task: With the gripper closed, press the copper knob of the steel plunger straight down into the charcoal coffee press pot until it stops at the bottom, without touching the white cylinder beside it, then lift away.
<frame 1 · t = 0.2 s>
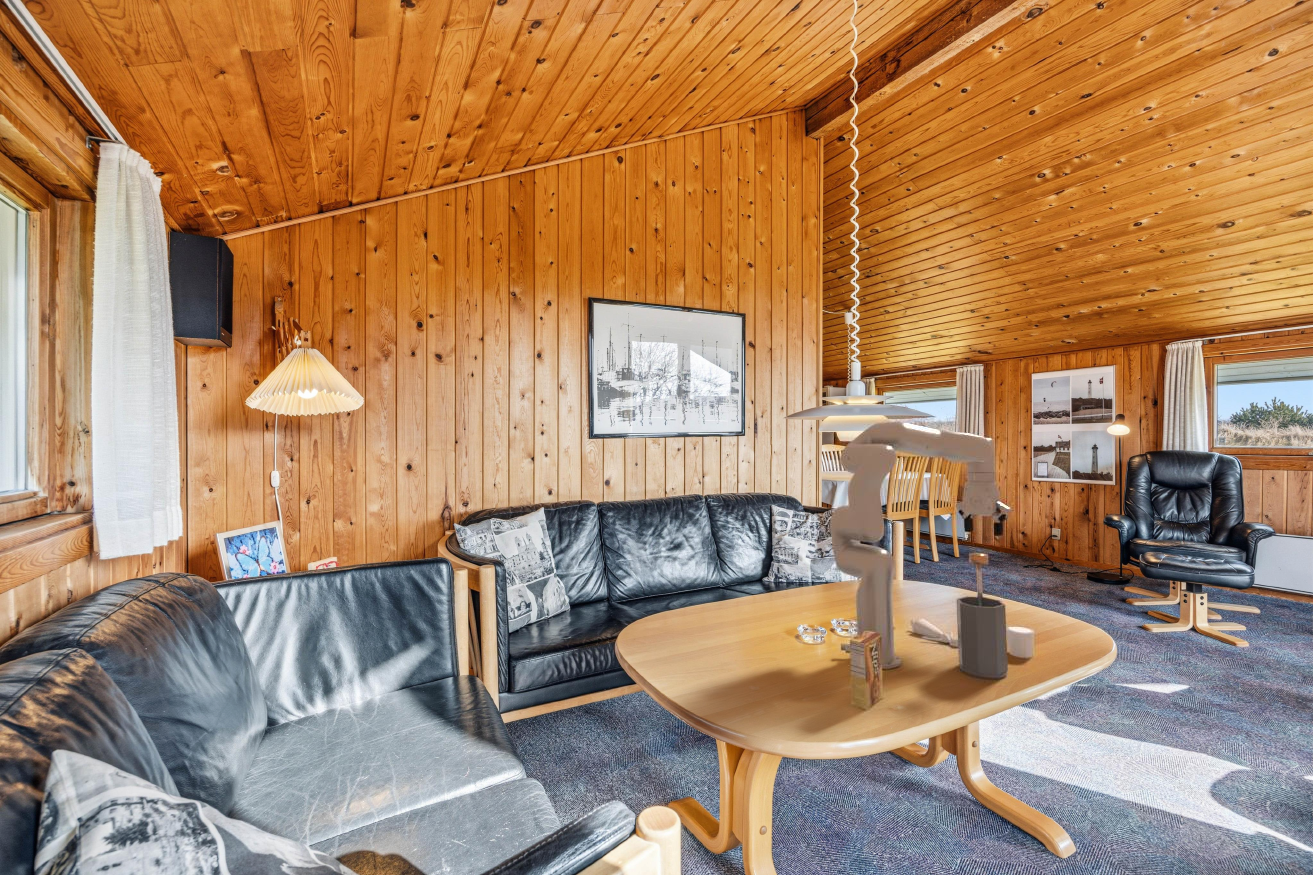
hand: (983, 533, 180), 31 cm above the table, tool pointing down, fingers open, 9 cm apart
press pot: (982, 670, 153), on the table
candy box: (867, 702, 137), on the table
white cylinder: (1021, 654, 164), on the table
plunger: (979, 586, 153), point 22 cm above the table, slide at 0.0 cm
woman figurine: (936, 639, 179), on the table
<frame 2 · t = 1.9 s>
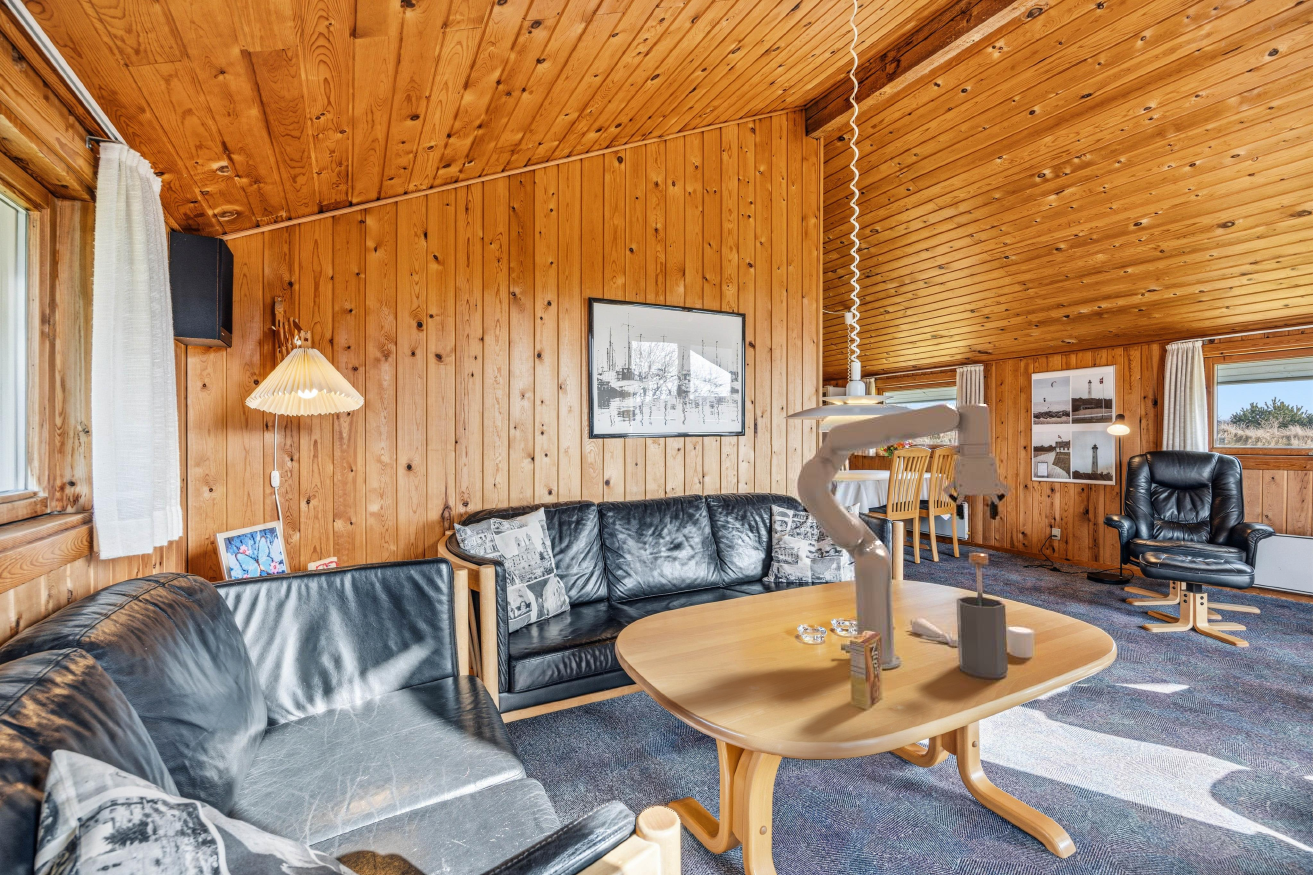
hand: (977, 518, 153), 40 cm above the table, tool pointing down, fingers open, 6 cm apart
nothing on the table moved.
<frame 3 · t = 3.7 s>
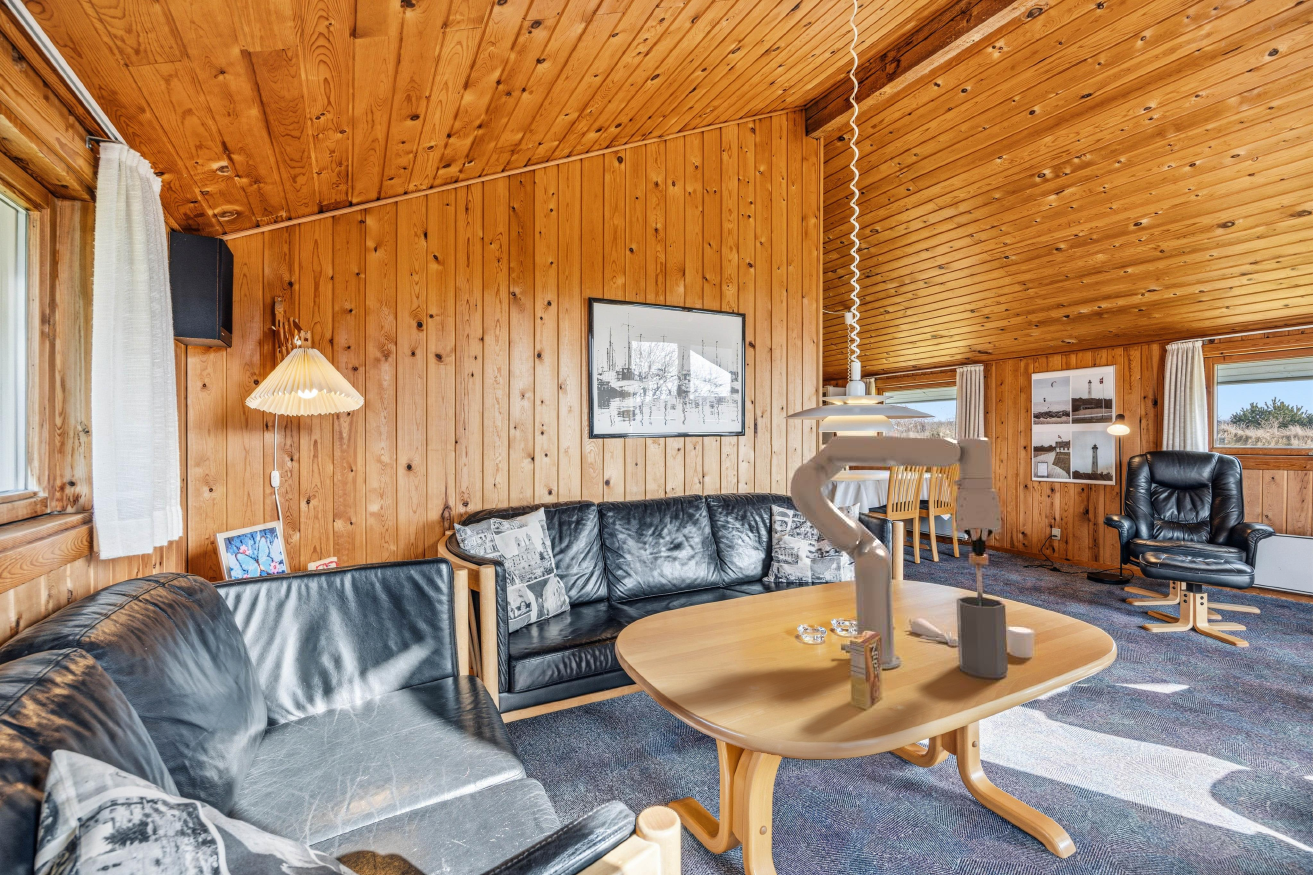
hand: (978, 554, 153), 30 cm above the table, tool pointing down, fingers closed
plunger: (979, 586, 153), point 22 cm above the table, slide at 0.1 cm, touching gripper
everything else where it was.
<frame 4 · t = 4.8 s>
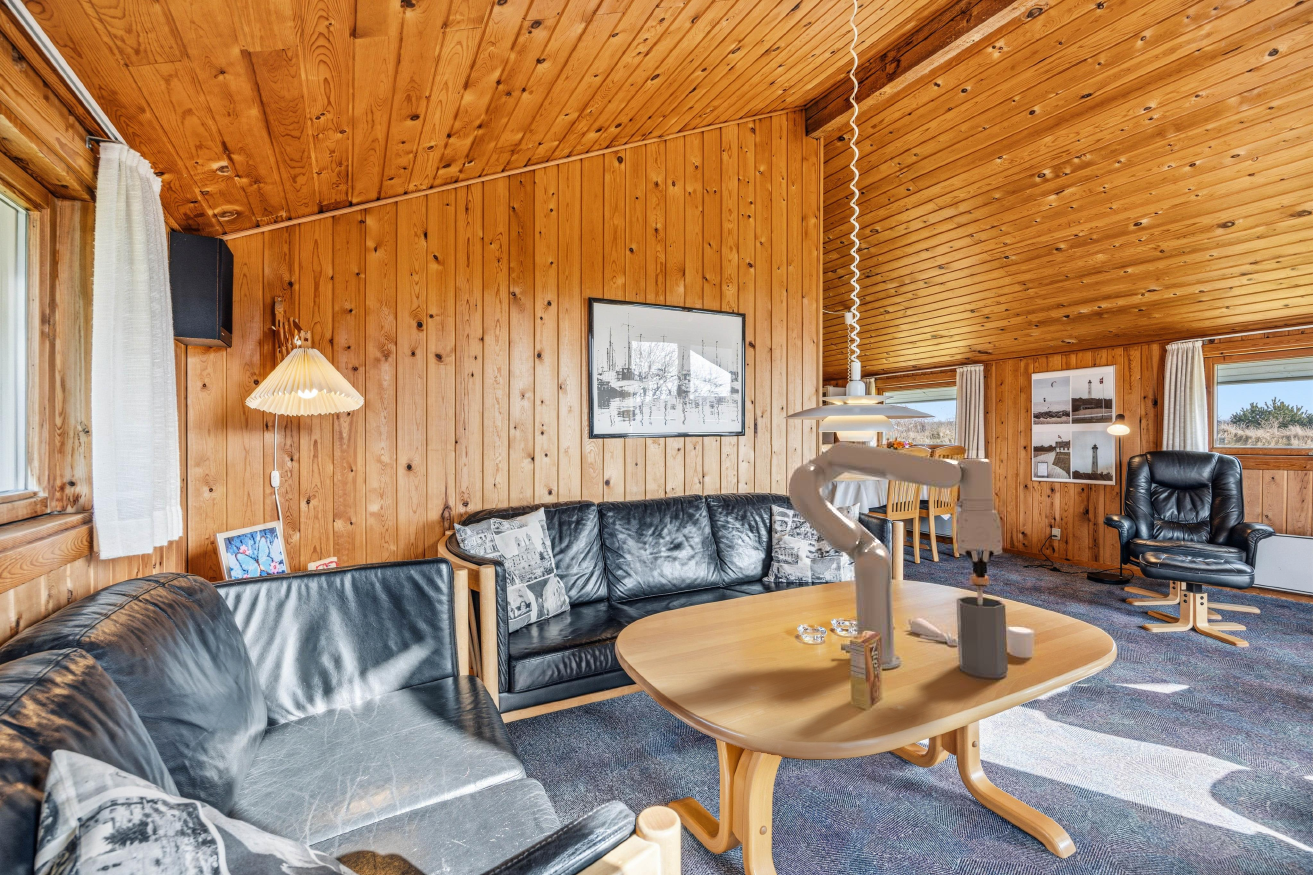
hand: (980, 575, 153), 25 cm above the table, tool pointing down, fingers closed
plunger: (980, 607, 153), point 16 cm above the table, slide at 5.7 cm, touching gripper
everything else where it was.
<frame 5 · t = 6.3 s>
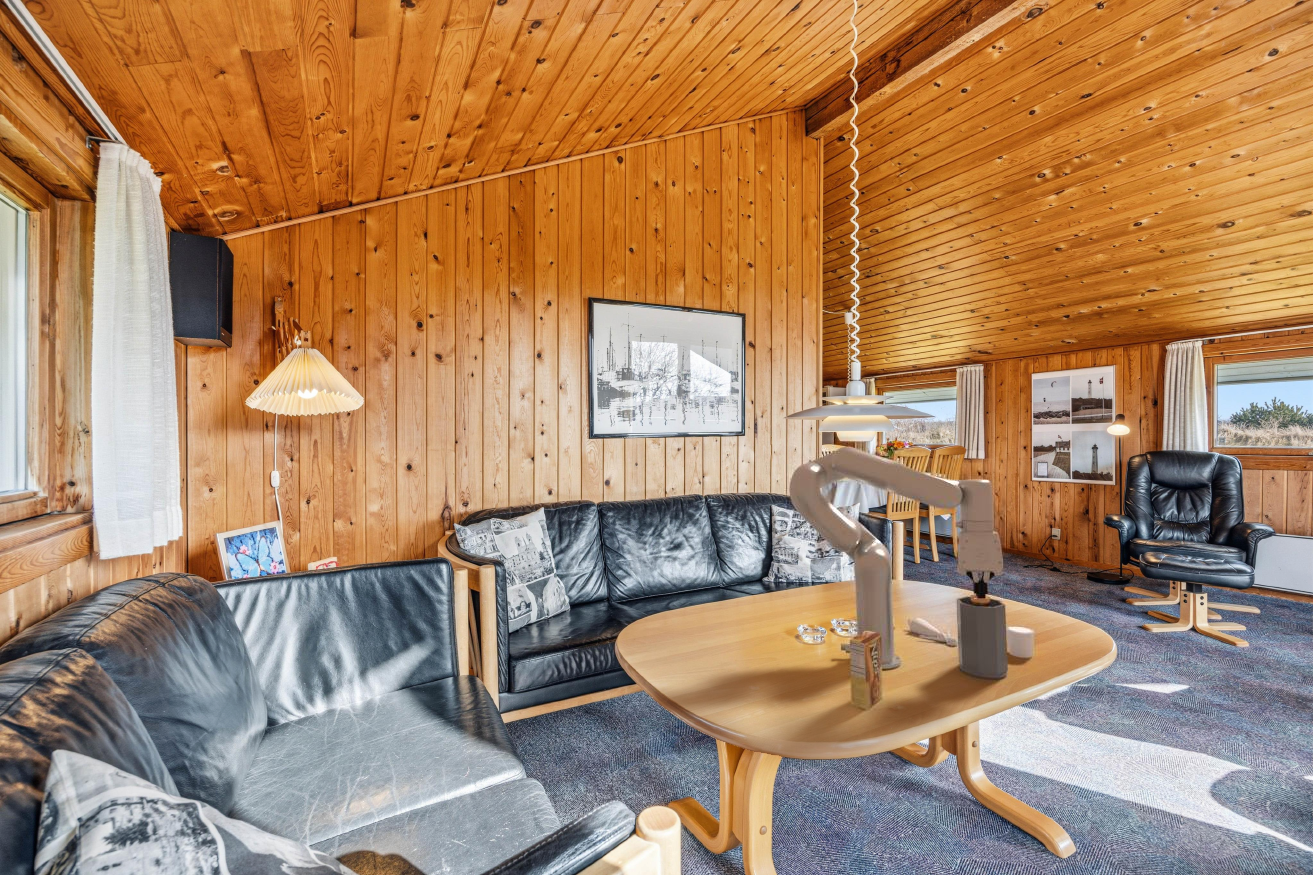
hand: (980, 596, 153), 19 cm above the table, tool pointing down, fingers closed
plunger: (981, 628, 153), point 11 cm above the table, slide at 11.1 cm, touching gripper
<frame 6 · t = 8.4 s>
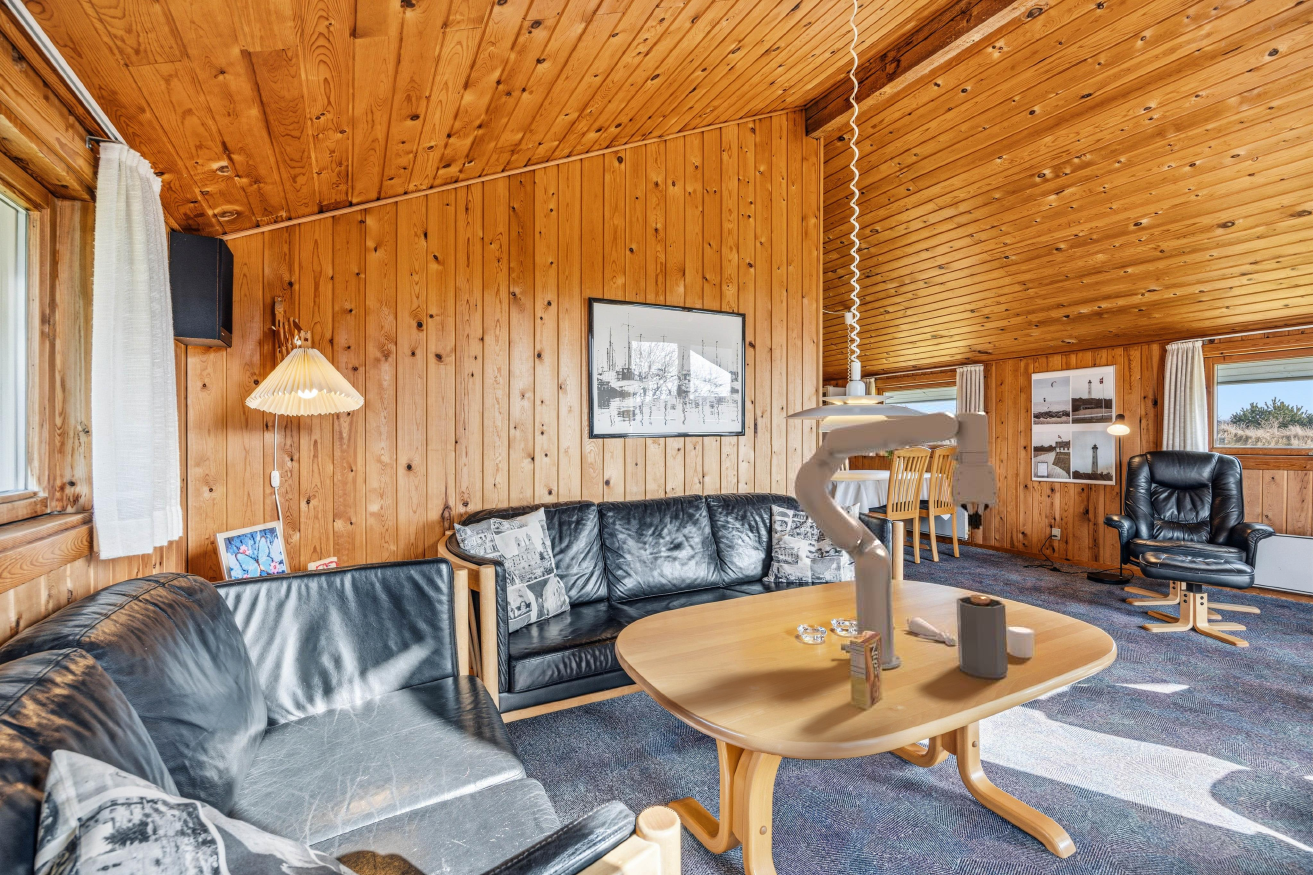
hand: (975, 528, 154), 37 cm above the table, tool pointing down, fingers closed
plunger: (981, 628, 153), point 11 cm above the table, slide at 11.1 cm
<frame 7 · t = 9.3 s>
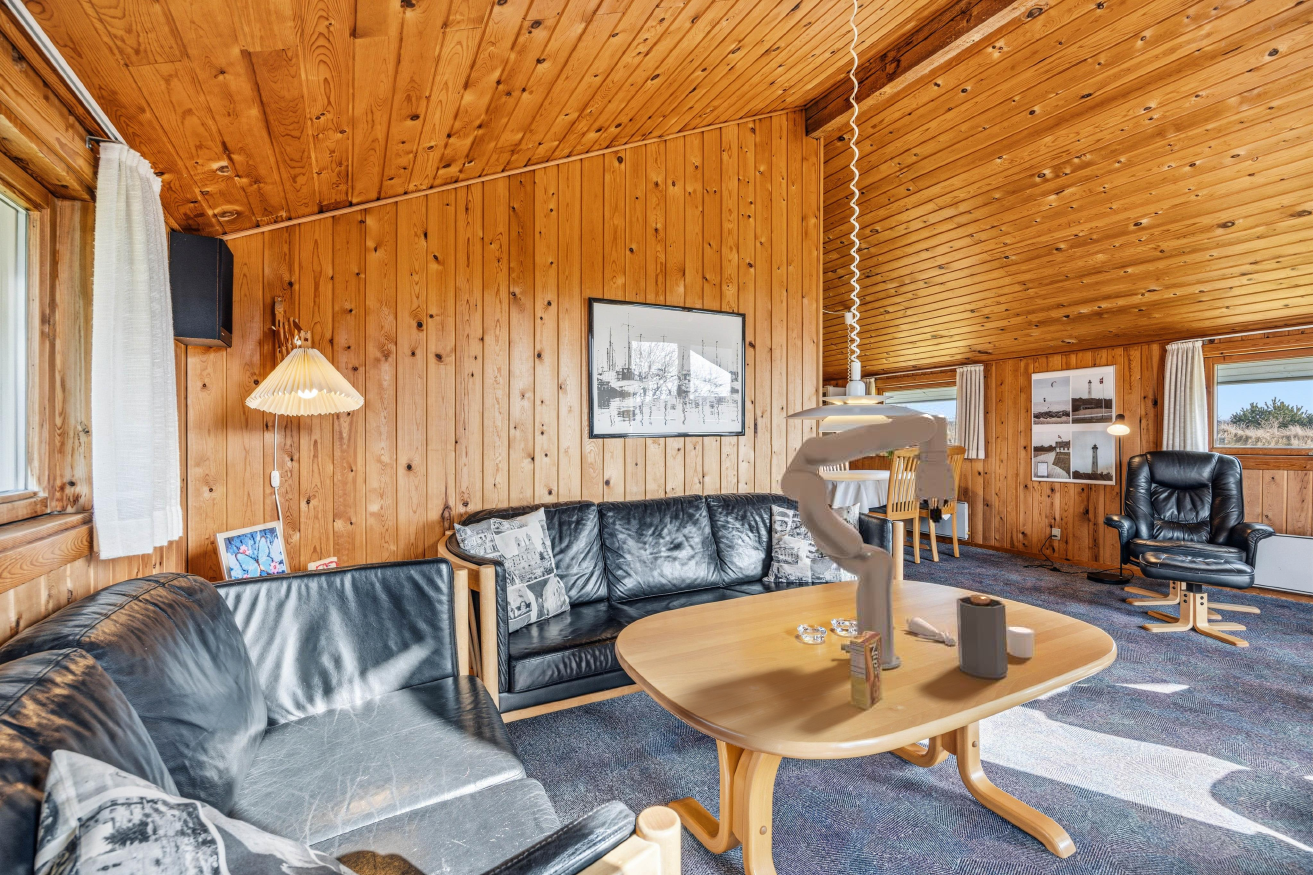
hand: (935, 522, 167), 37 cm above the table, tool pointing down, fingers closed
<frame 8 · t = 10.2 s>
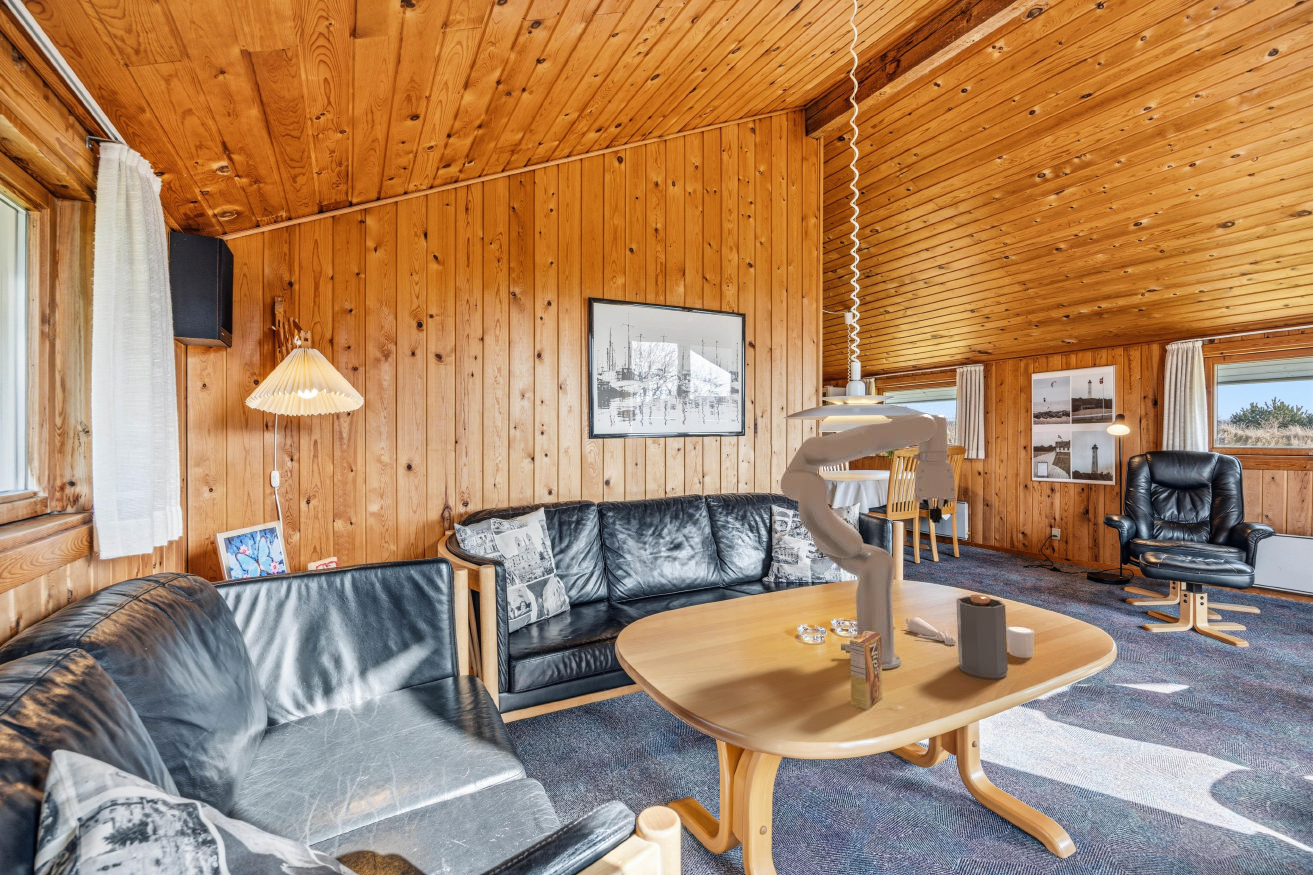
hand: (935, 522, 167), 37 cm above the table, tool pointing down, fingers closed
at the end: plunger slide at 11.1 cm; white cylinder moved 0.2 cm from its start; the gripper is holding nothing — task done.
